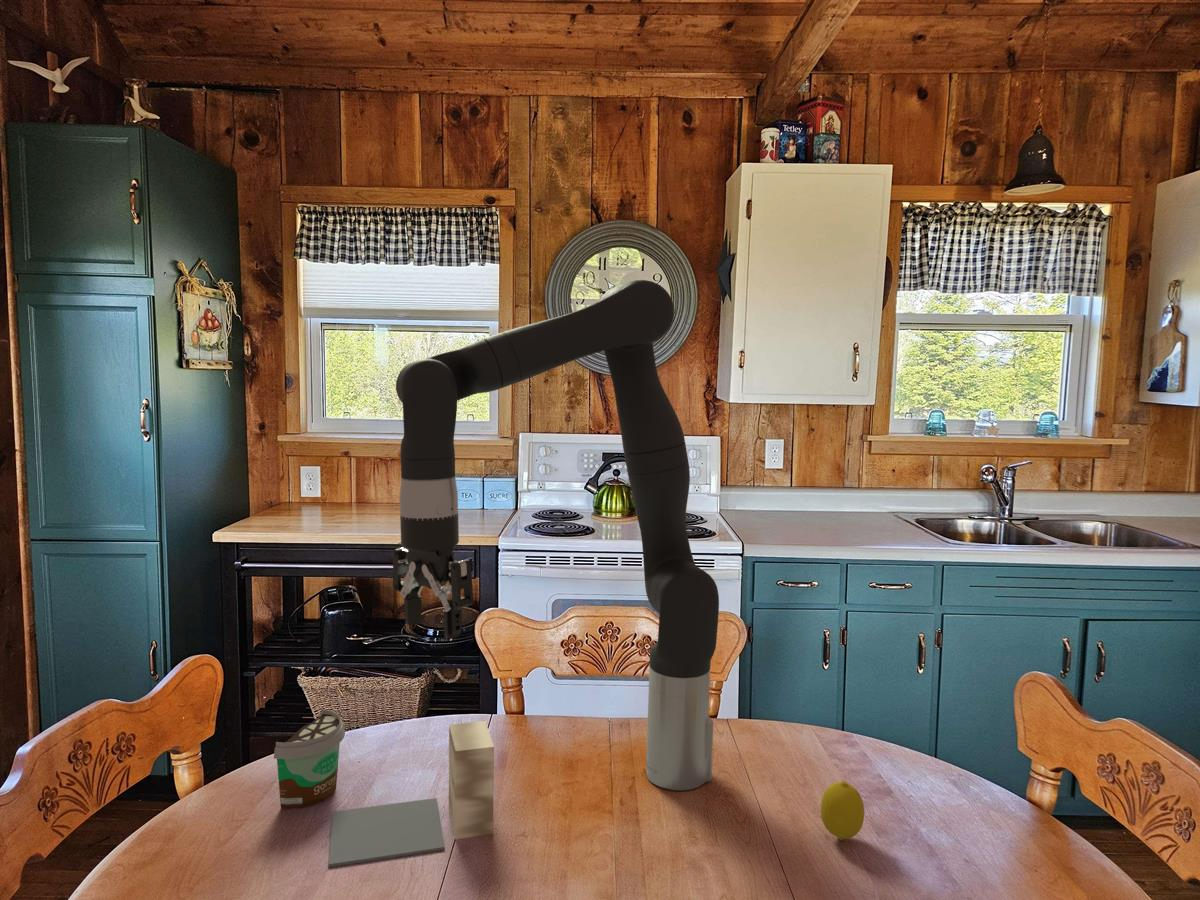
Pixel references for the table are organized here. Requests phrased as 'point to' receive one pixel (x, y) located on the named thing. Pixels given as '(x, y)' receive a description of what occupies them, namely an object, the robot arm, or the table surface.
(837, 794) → the lemon
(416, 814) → the mat
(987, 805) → the table surface
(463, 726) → the ash block
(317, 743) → the food container
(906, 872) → the table surface
